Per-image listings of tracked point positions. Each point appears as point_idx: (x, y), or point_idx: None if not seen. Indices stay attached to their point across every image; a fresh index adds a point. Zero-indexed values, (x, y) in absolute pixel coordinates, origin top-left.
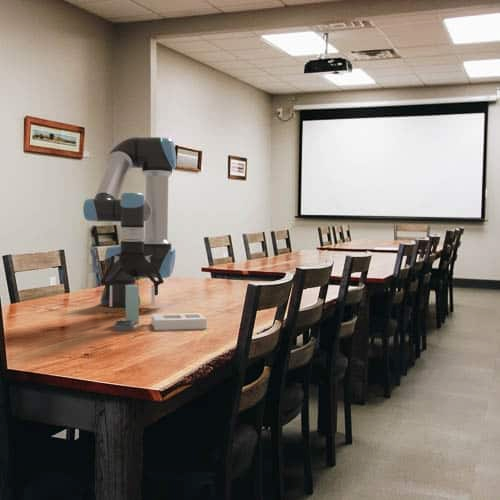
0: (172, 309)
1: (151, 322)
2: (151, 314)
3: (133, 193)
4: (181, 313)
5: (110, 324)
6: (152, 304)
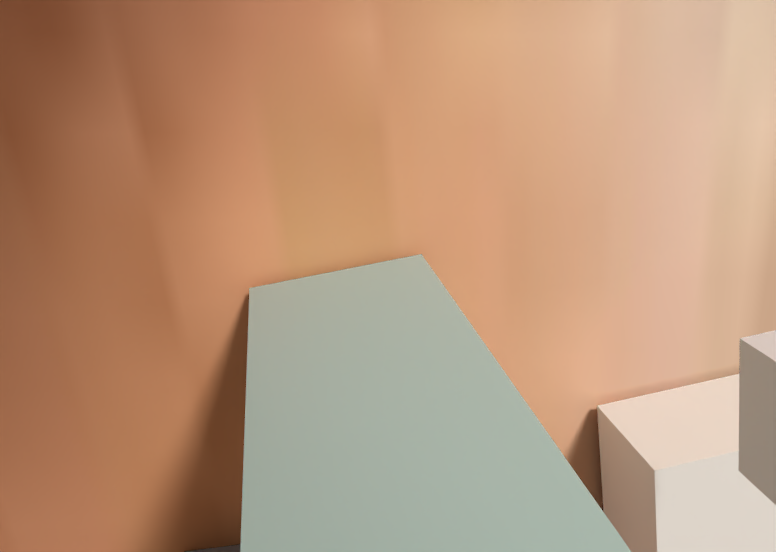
0: None
1: (602, 417)
2: (652, 472)
3: None
4: None
5: (74, 465)
6: (757, 485)
